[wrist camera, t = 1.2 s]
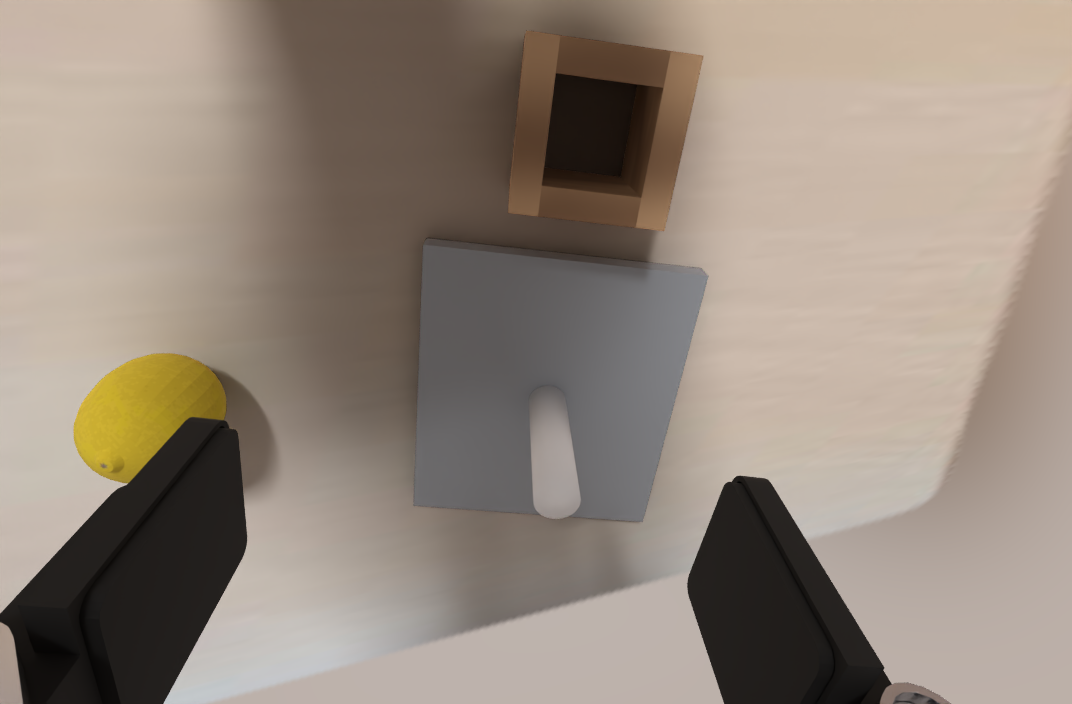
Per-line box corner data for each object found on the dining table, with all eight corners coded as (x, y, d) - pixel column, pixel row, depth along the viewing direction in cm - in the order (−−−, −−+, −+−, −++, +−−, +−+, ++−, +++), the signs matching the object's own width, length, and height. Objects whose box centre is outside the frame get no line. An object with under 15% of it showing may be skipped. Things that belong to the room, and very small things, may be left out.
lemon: (269, 368, 31) (195, 458, 24) (222, 434, 33) (140, 536, 26) (171, 308, 29) (60, 385, 22) (126, 382, 31) (11, 475, 24)
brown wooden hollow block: (524, 37, 24) (526, 30, 20) (669, 58, 25) (703, 55, 20) (508, 189, 27) (508, 213, 23) (640, 204, 28) (664, 231, 23)
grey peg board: (426, 237, 28) (390, 307, 20) (701, 268, 29) (774, 346, 21) (416, 492, 35) (386, 621, 27) (638, 508, 36) (675, 637, 28)
